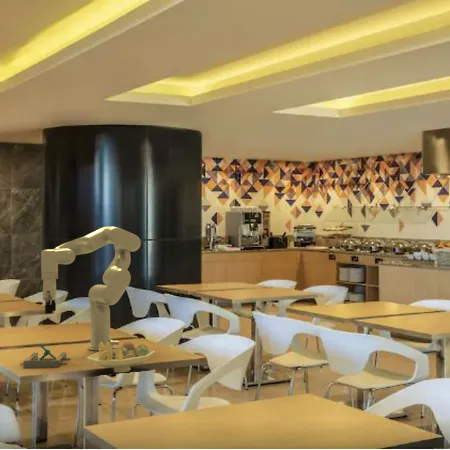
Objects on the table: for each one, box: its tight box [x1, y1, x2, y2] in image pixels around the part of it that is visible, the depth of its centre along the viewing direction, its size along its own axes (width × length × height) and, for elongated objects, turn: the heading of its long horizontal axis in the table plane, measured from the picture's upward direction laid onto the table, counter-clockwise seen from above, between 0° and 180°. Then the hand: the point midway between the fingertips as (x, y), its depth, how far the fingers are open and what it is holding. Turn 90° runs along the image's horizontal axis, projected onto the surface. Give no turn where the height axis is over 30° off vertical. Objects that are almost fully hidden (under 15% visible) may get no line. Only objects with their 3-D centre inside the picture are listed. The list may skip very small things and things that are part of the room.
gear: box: [39, 343, 57, 360], centre depth 341 cm, size 11×6×10 cm
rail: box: [20, 351, 71, 369], centre depth 336 cm, size 20×24×3 cm
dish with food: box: [86, 341, 156, 373], centre depth 315 cm, size 28×28×14 cm
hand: (50, 312), depth 354 cm, fingers open, 9 cm apart
